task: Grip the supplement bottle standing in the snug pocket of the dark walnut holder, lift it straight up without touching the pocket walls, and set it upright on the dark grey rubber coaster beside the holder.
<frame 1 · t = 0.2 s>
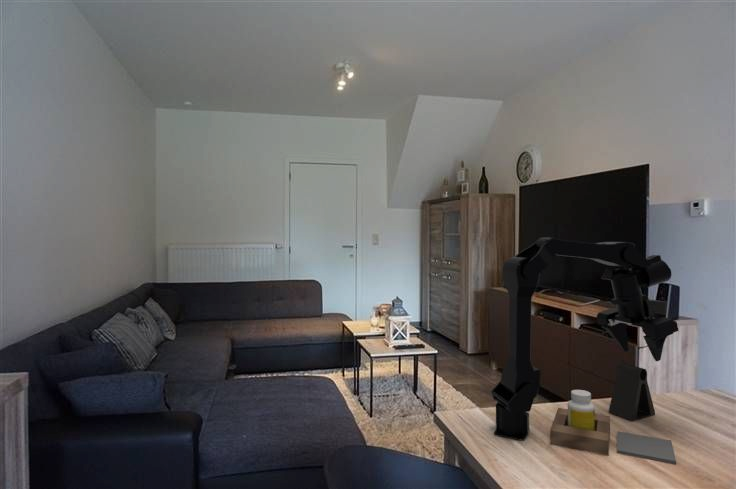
hand: (641, 355, 108), 15 cm above the table, tool pointing down, fingers open, 9 cm apart
pocket holder: (581, 436, 100), on the table
supplement bottle: (581, 437, 100), resting in pocket holder
phone stand: (631, 414, 111), on the table
coaster: (644, 447, 94), on the table
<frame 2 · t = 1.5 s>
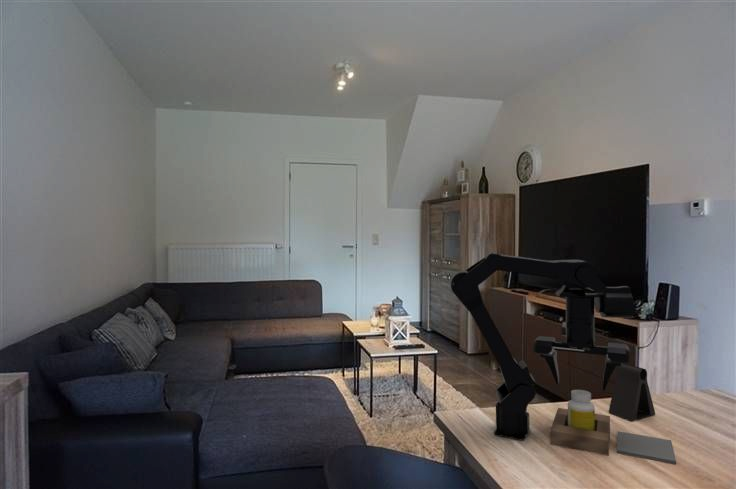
hand: (580, 387, 99), 11 cm above the table, tool pointing down, fingers open, 9 cm apart
nothing on the table moved.
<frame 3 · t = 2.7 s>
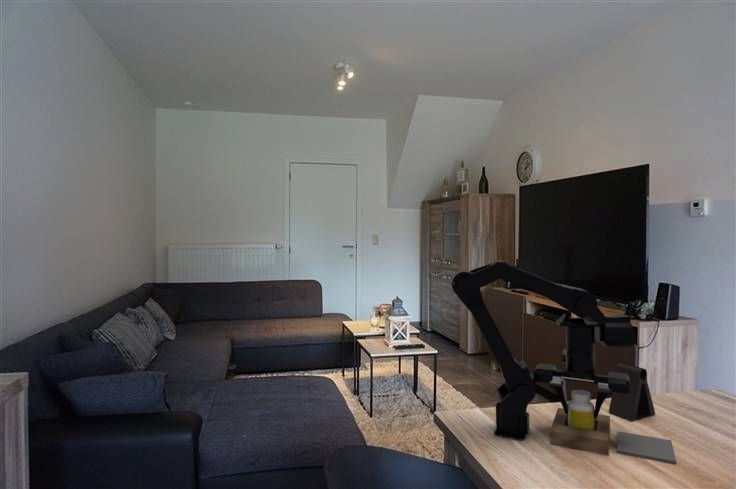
hand: (580, 416, 100), 5 cm above the table, tool pointing down, fingers closed on supplement bottle, 5 cm apart
supplement bottle: (581, 437, 100), resting in pocket holder, touching gripper
everything else where it was.
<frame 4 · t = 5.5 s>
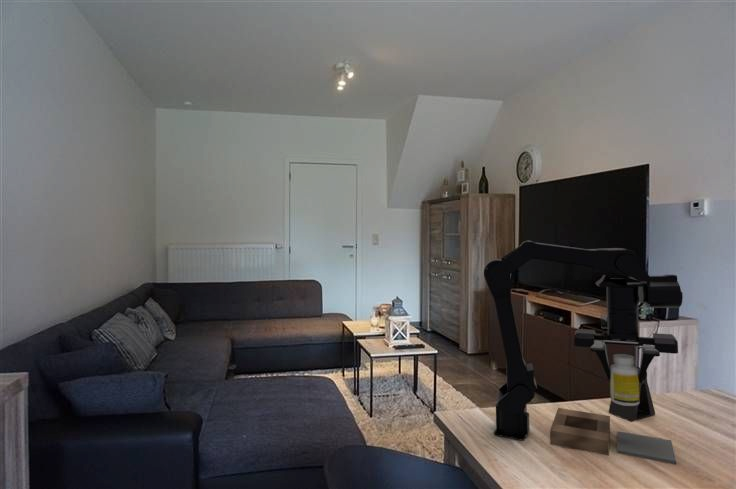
hand: (624, 380, 95), 14 cm above the table, tool pointing down, fingers closed on supplement bottle, 5 cm apart
supplement bottle: (625, 403, 95), point 9 cm above the table, touching gripper
everything else where it was.
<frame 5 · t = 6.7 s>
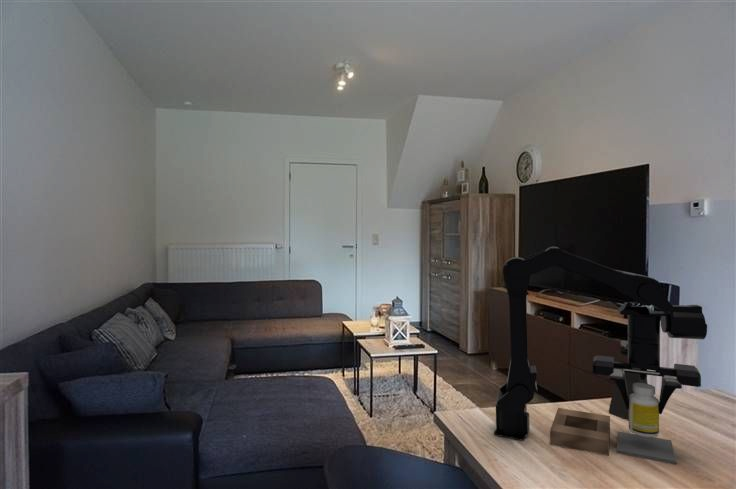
hand: (643, 410, 94), 8 cm above the table, tool pointing down, fingers closed on supplement bottle, 5 cm apart
supplement bottle: (643, 433, 94), point 3 cm above the table, touching gripper
everything else where it was.
when the fingers open (6 cm above the table, at t = 7.8 s): supplement bottle drops 1 cm, resting on coaster.
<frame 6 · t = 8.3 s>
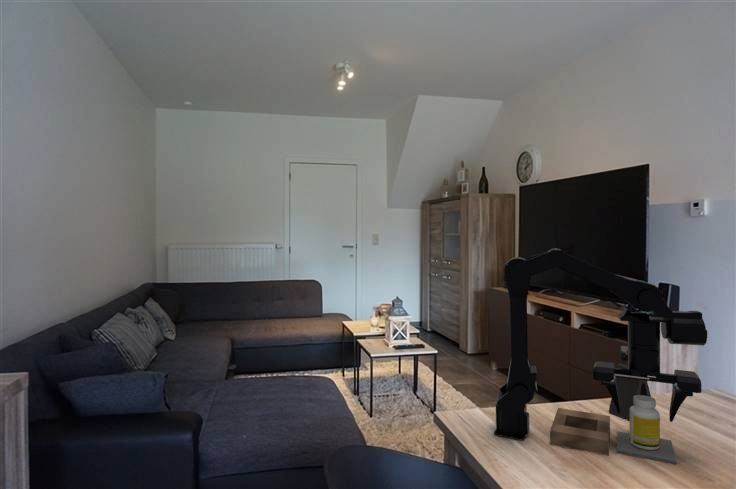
hand: (644, 417, 94), 6 cm above the table, tool pointing down, fingers open, 9 cm apart
supplement bottle: (644, 445, 94), resting on coaster
everything else where it was.
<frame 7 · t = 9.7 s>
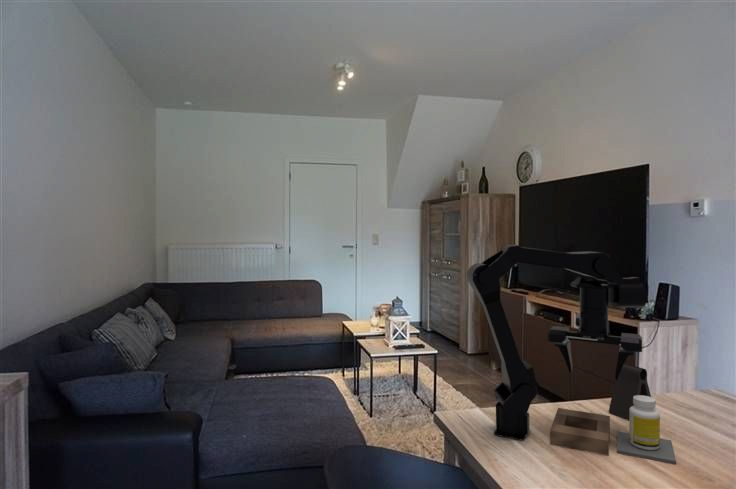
hand: (593, 376, 102), 13 cm above the table, tool pointing down, fingers open, 9 cm apart
nothing on the table moved.
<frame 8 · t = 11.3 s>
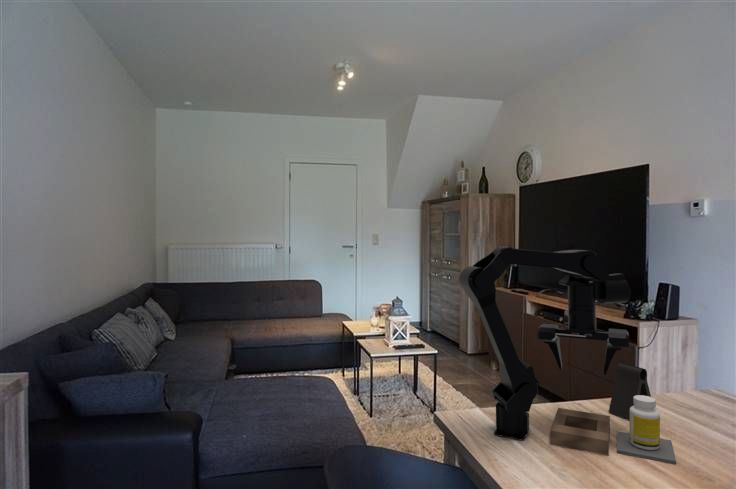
hand: (582, 371, 104), 13 cm above the table, tool pointing down, fingers open, 9 cm apart
nothing on the table moved.
at the end: supplement bottle 0.0 cm off-centre on the coaster, point 0.4 cm above the coaster's base; supplement bottle tilted 0°; the gripper is holding nothing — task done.
